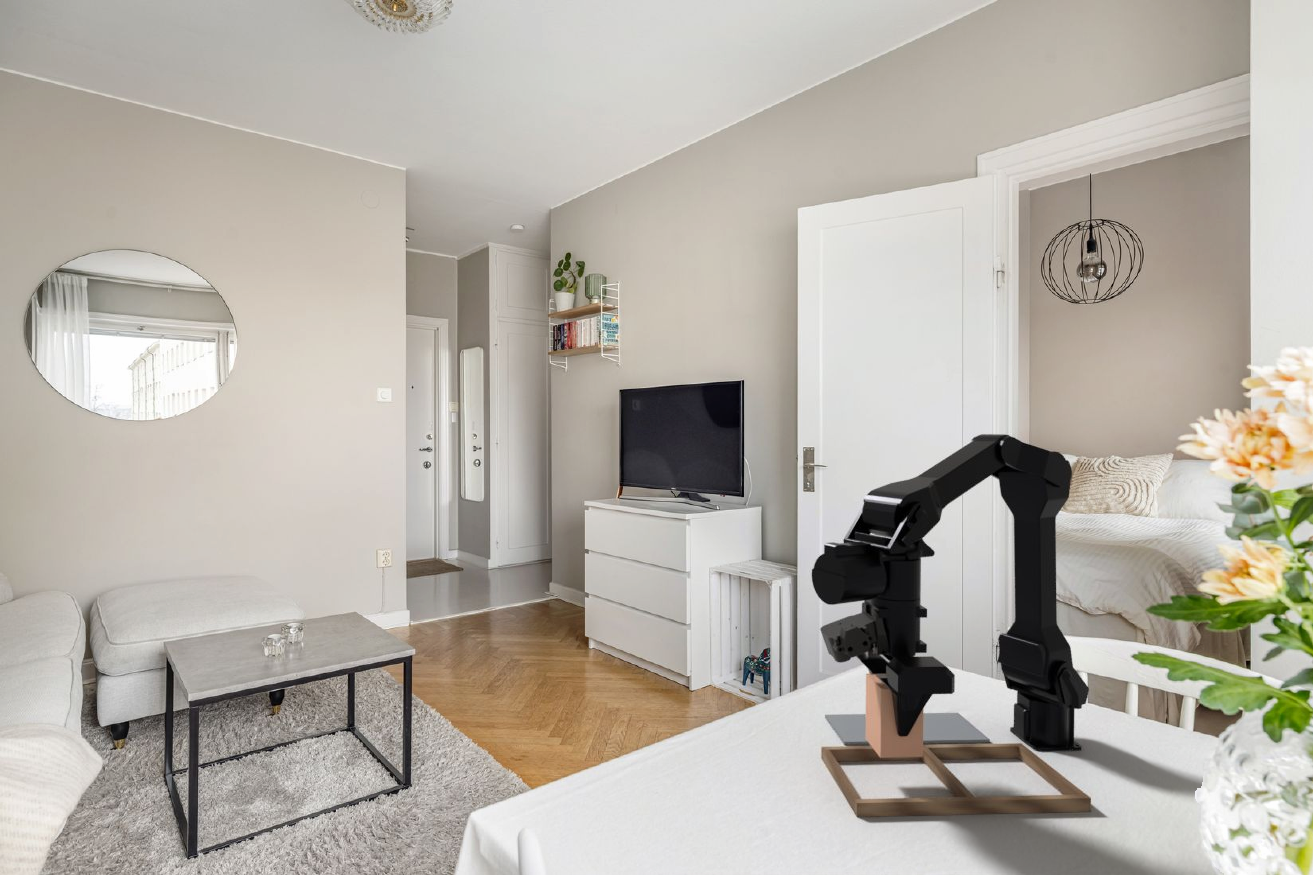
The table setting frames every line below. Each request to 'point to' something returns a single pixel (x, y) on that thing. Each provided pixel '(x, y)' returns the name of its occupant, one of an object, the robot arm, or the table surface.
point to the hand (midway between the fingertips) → (893, 726)
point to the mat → (934, 729)
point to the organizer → (957, 783)
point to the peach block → (888, 723)
